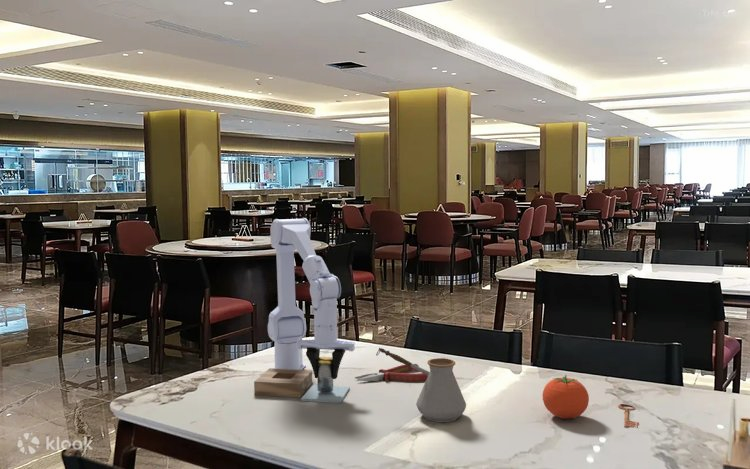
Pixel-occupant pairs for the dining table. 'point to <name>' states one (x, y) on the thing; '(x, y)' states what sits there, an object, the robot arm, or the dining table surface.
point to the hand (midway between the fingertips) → (325, 377)
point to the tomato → (565, 397)
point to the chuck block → (283, 382)
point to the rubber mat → (326, 394)
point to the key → (626, 421)
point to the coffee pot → (437, 390)
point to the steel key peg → (325, 374)
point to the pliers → (394, 375)
